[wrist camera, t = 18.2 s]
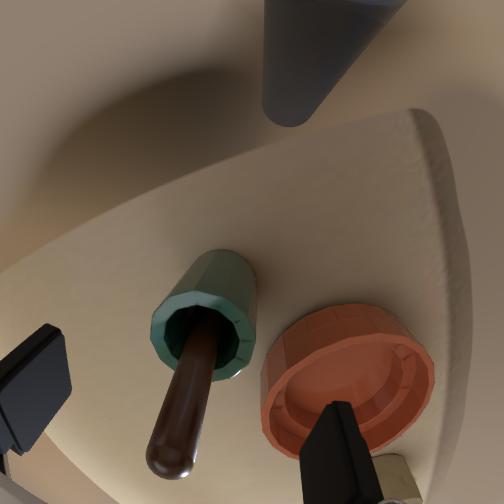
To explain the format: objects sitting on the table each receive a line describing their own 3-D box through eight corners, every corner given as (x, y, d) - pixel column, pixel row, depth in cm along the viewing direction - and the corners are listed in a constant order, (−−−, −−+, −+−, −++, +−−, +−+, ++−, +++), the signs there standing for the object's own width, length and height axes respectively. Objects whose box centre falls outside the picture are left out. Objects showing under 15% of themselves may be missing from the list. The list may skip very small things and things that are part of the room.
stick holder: (194, 242, 22) (155, 279, 13) (263, 258, 22) (266, 306, 14) (183, 305, 23) (147, 366, 15) (247, 320, 24) (241, 390, 15)
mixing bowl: (286, 284, 23) (294, 317, 17) (428, 313, 23) (461, 343, 17) (245, 411, 26) (243, 456, 20) (370, 423, 26) (385, 461, 21)
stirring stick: (210, 274, 22) (138, 459, 7) (233, 280, 22) (192, 474, 7) (206, 295, 23) (141, 478, 8) (229, 300, 23) (188, 491, 8)
